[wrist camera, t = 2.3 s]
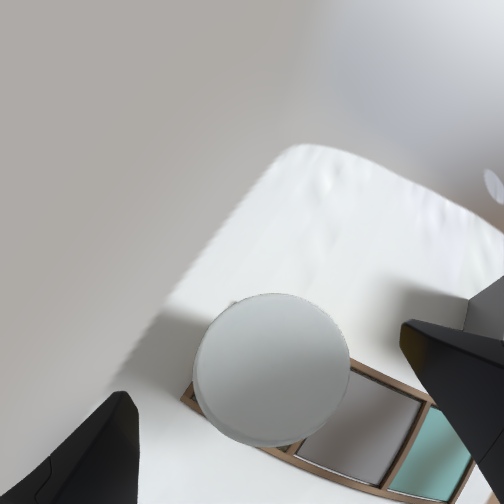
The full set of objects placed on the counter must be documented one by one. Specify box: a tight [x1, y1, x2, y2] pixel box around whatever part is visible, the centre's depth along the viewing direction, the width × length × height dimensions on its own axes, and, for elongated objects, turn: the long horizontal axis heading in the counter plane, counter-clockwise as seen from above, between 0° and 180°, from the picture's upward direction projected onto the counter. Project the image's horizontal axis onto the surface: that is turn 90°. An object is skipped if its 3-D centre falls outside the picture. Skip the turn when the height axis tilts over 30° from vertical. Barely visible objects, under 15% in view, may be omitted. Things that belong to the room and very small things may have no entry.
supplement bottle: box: [193, 293, 351, 448], centre depth 11 cm, size 5×5×10 cm
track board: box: [180, 358, 476, 504], centre depth 13 cm, size 20×7×1 cm, turn 59°
